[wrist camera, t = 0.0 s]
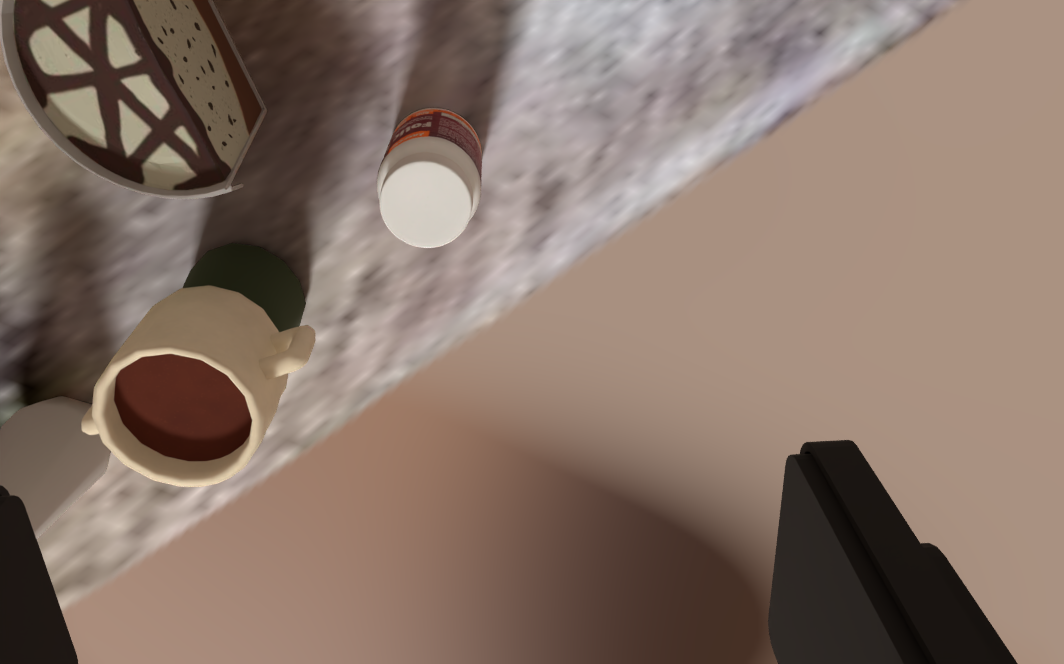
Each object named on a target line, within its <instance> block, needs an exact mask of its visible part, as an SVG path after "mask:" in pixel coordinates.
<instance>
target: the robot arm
mask: <svg viewBox="0 0 1064 664" xmlns="http://www.w3.org/2000/svg"><path fill="white" fill-rule="evenodd" d="M768 625H769V635H770V640H771V644H772V648H773V651H774V654H775V656H776V659H777V662H778V664H1017V662H1016V661H1015V659H1014V658H1013V656H1012V655H1011V653H1010V652H1009V650H1008V649H1007V647H1006V646H1005V644H1004V643H1003V641H1002V640H1001V638H1000V637H999V635H998V634H997V632H996V631H995V630H994V628H993V627H992V625H991V624H990V622H989V621H988V619H987V618H986V616H985V615H984V613H983V612H982V610H981V609H980V607H979V606H978V604H977V603H976V601H975V600H974V598H973V597H972V595H971V594H970V592H969V591H968V589H967V588H966V586H965V585H964V584H963V582H962V580H961V579H960V578H959V576H958V575H957V573H956V572H955V570H954V569H953V567H952V566H951V564H950V563H949V561H948V560H947V558H946V557H945V556H944V554H943V553H942V552H941V551H940V550H939V549H938V547H936V546H934V545H932V544H930V543H921V544H920V542H919V541H918V539H917V537H916V536H915V534H914V533H913V532H912V530H911V529H910V527H909V525H908V524H907V522H906V521H905V519H904V518H903V516H902V514H901V513H900V511H899V510H898V508H897V507H896V505H895V504H894V502H893V501H892V499H891V498H890V496H889V494H888V493H887V491H886V490H885V488H884V487H883V485H882V484H881V482H880V481H879V479H878V477H877V476H876V475H875V473H874V471H873V470H872V468H871V467H870V465H869V464H868V462H867V461H866V459H865V458H864V456H863V454H862V453H861V451H860V450H859V448H858V447H857V445H856V444H855V443H854V442H853V441H850V440H841V441H820V442H806V443H804V444H803V446H802V448H801V450H800V454H796V455H790V456H788V458H787V460H786V466H785V474H784V483H783V492H782V501H781V510H780V519H779V528H778V537H777V546H776V555H775V564H774V573H773V581H772V590H771V600H770V608H769V620H768ZM0 664H78V659H77V655H76V652H75V649H74V646H73V644H72V640H71V637H70V634H69V632H68V629H67V626H66V623H65V620H64V617H63V614H62V611H61V608H60V606H59V603H58V600H57V597H56V594H55V591H54V588H53V585H52V583H51V580H50V577H49V574H48V571H47V568H46V565H45V562H44V560H43V557H42V554H41V551H40V548H39V545H38V542H37V539H36V536H35V534H34V531H33V528H32V525H31V522H30V519H29V516H28V513H27V511H26V508H25V505H24V503H23V501H22V500H21V499H20V498H19V497H18V496H15V495H10V494H9V492H8V490H7V489H6V488H5V487H3V486H2V485H0Z"/></svg>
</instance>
